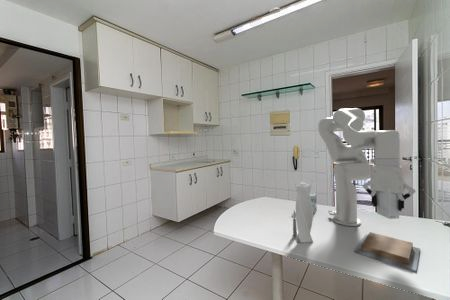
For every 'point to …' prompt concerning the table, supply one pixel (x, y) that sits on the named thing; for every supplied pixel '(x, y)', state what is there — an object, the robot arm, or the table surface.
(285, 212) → the table surface
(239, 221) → the table surface
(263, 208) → the table surface
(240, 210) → the table surface
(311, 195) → the light bulb box
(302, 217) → the skyscraper
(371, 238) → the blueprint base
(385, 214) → the skincare box
